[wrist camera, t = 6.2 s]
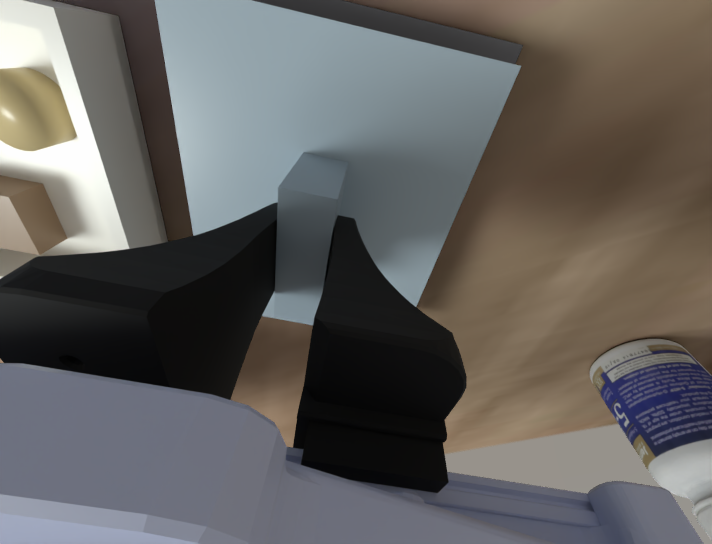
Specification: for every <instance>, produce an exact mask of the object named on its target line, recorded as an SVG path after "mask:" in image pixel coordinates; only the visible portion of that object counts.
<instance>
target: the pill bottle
mask: <svg viewBox="0 0 712 544" xmlns="http://www.w3.org/2000/svg"><path fill="white" fill-rule="evenodd" d="M590 378H591V381H592V383H593V384H594V386H595V388H596V389H597V391H598V392H599V394H600V395H601V397H602V399H603V400H604V402H605V403H606V405H607V406H608V408H609V410H610V411H611V413H612V414H613V416H614V418H615V419H616V421H617V422H618V424H619V425H620V427H621V428H622V430H623V432H624V433H625V435H626V436H627V438H628V439H629V441H630V442H631V444H632V445H633V447H634V449H635V450H636V452H637V453H638V455H639V456H640V458H641V460H642V462H643V463H644V464H645V466H646V468H647V469H648V471H649V472H650V474H651V475H652V477H653V478H654V479H655V480H656V482H657V483H658V484H659V485H661V486H662V487H663V488H665V489H667V490H669V491H670V492H671V493H673V494H675V495H678V496H681V497H685V498H689V499H690V500H691V502H692V503H693V504H694V506H693V508H692V512H693V514H694V515H695V516H696V517H697V518H696V519H697V521H698V523H699V524H700V525H701V526H702V528H703V529H704V531H705V532H706V534H707V535H708V536H709V538H710V539H711V541H712V375H711V374H710V373H709V372H708V371H707V370H706V369H705V368H704V367H703V366H702V365H701V364H700V363H699V362H698V361H697V360H696V359H695V358H694V357H693V356H692V355H691V354H690V353H689V352H688V351H687V350H686V349H685V348H684V347H682V346H681V345H679V344H678V343H675V342H673V341H669V340H664V339H644V340H637V341H633V342H629V343H626V344H623V345H620V346H617V347H615V348H613V349H611V350H609V351H607V352H606V353H604V354H603V355H601V356H600V357H599V358H598V359H597V360H596V361H595V362H594V363H593V365H592V367H591V369H590Z"/></svg>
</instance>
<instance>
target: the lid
mask: <svg viewBox="0 0 712 544" xmlns="http://www.w3.org/2000/svg"><path fill="white" fill-rule="evenodd" d="M155 6H156V12H157V18H158V24H159V30H160V36H161V42H162V48H163V54H164V60H165V66H166V72H167V78H168V84H169V90H170V96H171V102H172V108H173V115H174V121H175V127H176V133H177V139H178V145H179V151H180V157H181V163H182V169H183V175H184V181H185V187H186V193H187V199H188V205H189V211H190V217H191V224H192V230H193V236H194V235H198V234H201V233H204V232H207V231H210V230H213V229H216V228H219V227H221V226H224V225H226V224H229V223H231V222H234V221H236V220H239V219H241V218H243V217H245V216H247V215H249V214H252V213H254V212H256V211H258V210H260V209H262V208H264V207H266V206H268V205H271V204H273V203H278V208H277V240H276V271H275V291H274V293H273V295H272V297H271V299H270V301H269V303H268V305H267V307H266V309H265V311H264V313H263V315H262V316H264V317H270V318H275V319H281V320H286V321H292V322H297V323H303V324H309V325H313V323H314V317H315V314H316V311H317V308H318V305H319V302H320V299H321V296H322V292H323V289H324V285H325V280H326V274H327V268H328V262H329V256H330V250H331V244H332V237H333V231H334V225H335V222H336V219H337V216H338V215H340V216H345V217H350V218H354V219H355V221H356V224H357V227H358V230H359V233H360V236H361V238H362V240H363V242H364V245H365V247H366V249H367V251H368V252H369V254H370V256H371V258H372V259H373V261H374V263H375V264H376V266H377V267H378V269H379V270H380V271H381V273H382V274H383V275H384V276H385V278H386V279H387V280H388V281H389V282H390V283H391V284H392V285H393V286H394V288H395V289H396V290H397V291H398V292H399V293H400V294H401V295H402V296H404V297H405V298H406V299H407V300H408V301H409V302H410V303H411V304H413V305H414V306H415V307H416V306H417V304H418V301H419V299H420V297H421V295H422V292H423V290H424V288H425V285H426V283H427V281H428V279H429V276H430V274H431V272H432V269H433V267H434V265H435V263H436V260H437V258H438V256H439V253H440V251H441V249H442V247H443V244H444V242H445V240H446V237H447V235H448V233H449V231H450V228H451V226H452V224H453V221H454V219H455V217H456V215H457V212H458V210H459V208H460V205H461V203H462V201H463V198H464V196H465V194H466V192H467V189H468V187H469V185H470V182H471V180H472V178H473V176H474V173H475V171H476V169H477V166H478V164H479V162H480V160H481V157H482V155H483V153H484V150H485V148H486V146H487V144H488V141H489V139H490V137H491V134H492V132H493V130H494V128H495V125H496V123H497V121H498V118H499V116H500V114H501V111H502V109H503V107H504V105H505V102H506V100H507V98H508V95H509V93H510V91H511V89H512V86H513V84H514V82H515V79H516V77H517V75H518V73H519V70H520V68H521V66H519V65H515V64H511V63H507V62H503V61H499V60H494V59H490V58H486V57H482V56H478V55H474V54H470V53H466V52H462V51H458V50H453V49H449V48H445V47H441V46H437V45H433V44H429V43H425V42H421V41H417V40H412V39H408V38H404V37H400V36H396V35H392V34H388V33H384V32H380V31H375V30H371V29H367V28H363V27H359V26H355V25H351V24H347V23H343V22H339V21H334V20H330V19H326V18H322V17H318V16H314V15H310V14H306V13H302V12H298V11H293V10H289V9H285V8H281V7H277V6H273V5H269V4H265V3H261V2H256V1H252V0H155Z"/></svg>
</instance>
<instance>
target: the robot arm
mask: <svg viewBox="0 0 712 544" xmlns="http://www.w3.org/2000/svg"><path fill="white" fill-rule="evenodd" d="M277 208H278V203H273V204H271V205H268V206H266V207H264V208H262V209H260V210H258V211H256V212H254V213H252V214H249V215H247V216H245V217H243V218H241V219H239V220H236V221H234V222H231V223H229V224H226V225H224V226H221V227H219V228H216V229H213V230H210V231H207V232H204V233H201V234H198V235H194V236H191V237H187V238H183V239H179V240H174V241H170V242H165V243H160V244H155V245H151V246H145V247H138V248H132V249H124V250H116V251H108V252H98V253H85V254H71V255H56V256H37V257H35V258H33V259H32V260H30V261H28V262H27V263H25V264H23V265H22V266H20V267H19V268H17V269H15V270H14V271H12V272H11V273H9V274H7V275H6V276H4V277H2V278H1V279H0V358H1V360H2V361H3V362H4V363H0V544H704V543H703V542H702V540H701V539H700V537H699V536H698V534H697V533H696V531H695V529H694V528H693V526H692V525H691V523H690V522H689V520H688V519H687V517H686V516H685V514H684V513H683V511H682V510H681V508H680V507H679V505H678V504H677V502H676V500H675V499H674V497H673V496H672V495H671V493H670V491H669V490H667V489H665V488H662V487H655V486H649V485H643V484H637V483H630V482H623V481H612V482H605V483H603V484H600V485H598V486H596V487H594V488H593V489H591V490H590V491H589V492H588V494H586V493H580V492H573V491H567V490H560V489H554V488H548V487H541V486H534V485H528V484H522V483H515V482H509V481H502V480H496V479H490V478H483V477H477V476H470V475H464V474H458V473H451V472H447V468H446V461H445V455H444V449H443V442H445V441H446V439H447V432H446V426H445V418H446V417H447V416H448V414H449V413H450V412H451V410H452V409H453V408H454V406H455V405H456V404H457V402H458V401H459V400H460V398H461V397H462V395H463V393H464V391H465V389H466V373H465V369H464V366H463V362H462V358H461V355H460V352H459V349H458V347H457V344H456V342H455V340H454V337H453V334H452V332H450V331H449V330H447V329H446V328H444V327H443V326H441V325H440V324H438V323H437V322H435V321H434V320H432V319H431V318H429V317H428V316H427V315H425V314H424V313H423V312H421V311H420V310H419V309H418V308H416V307H415V306H414V305H413V304H411V303H410V302H409V301H408V300H407V299H406V298H405V297H404V296H402V295H401V294H400V293H399V292H398V291H397V290H396V289H395V288H394V286H393V285H392V284H391V283H390V282H389V281H388V280H387V279H386V278H385V276H384V275H383V274H382V273H381V271H380V270H379V269H378V267H377V266H376V264H375V263H374V261H373V259H372V258H371V256H370V254H369V252H368V251H367V249H366V247H365V245H364V242H363V240H362V238H361V236H360V233H359V230H358V227H357V224H356V221H355V219H354V218H350V217H345V216H340V215H338V216H337V219H336V222H335V225H334V231H333V237H332V244H331V250H330V256H329V262H328V268H327V274H326V280H325V285H324V289H323V292H322V296H321V299H320V302H319V305H318V308H317V311H316V314H315V317H314V323H313V329H312V336H311V342H310V349H309V355H308V362H307V369H306V375H305V382H304V387H303V392H302V396H301V400H300V405H299V409H298V414H297V424H296V431H295V438H294V445H293V448H291V447H286V445H285V442H284V440H283V438H282V436H281V434H280V431H279V429H278V428H277V426H276V425H275V423H274V422H273V421H271V420H270V419H268V418H267V417H265V416H264V415H262V414H260V413H259V412H257V411H256V410H254V409H253V408H251V407H250V406H248V405H245V404H242V403H238V402H235V401H232V400H230V399H231V396H232V393H233V390H234V387H235V384H236V381H237V378H238V375H239V373H240V370H241V367H242V364H243V361H244V359H245V356H246V353H247V350H248V348H249V345H250V342H251V340H252V337H253V334H254V332H255V329H256V327H257V325H258V323H259V320H260V318H261V316H262V315H263V313H264V311H265V309H266V307H267V305H268V303H269V301H270V299H271V297H272V295H273V293H274V291H275V271H276V240H277Z"/></svg>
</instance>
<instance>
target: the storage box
mask: <svg viewBox="0 0 712 544" xmlns="http://www.w3.org/2000/svg"><path fill="white" fill-rule="evenodd" d="M165 242H168V239H167V235H166V230H165V226H164V221H163V216H162V212H161V207H160V203H159V198H158V194H157V189H156V185H155V180H154V175H153V171H152V166H151V162H150V157H149V153H148V148H147V143H146V139H145V134H144V130H143V125H142V121H141V116H140V112H139V107H138V102H137V98H136V93H135V89H134V84H133V80H132V75H131V70H130V66H129V61H128V57H127V52H126V48H125V43H124V39H123V34H122V29H121V25H120V20H119V16H117V15H113V14H108V13H104V12H100V11H96V10H91V9H87V8H83V7H79V6H74V5H70V4H66V3H61V2H57V1H53V0H0V279H1V278H2V277H4V276H6V275H7V274H9V273H11V272H12V271H14V270H15V269H17V268H19V267H20V266H22V265H23V264H25V263H27V262H28V261H30V260H32V259H33V258H35V257H37V256H56V255H71V254H85V253H98V252H108V251H116V250H124V249H132V248H138V247H145V246H151V245H155V244H160V243H165Z"/></svg>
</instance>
